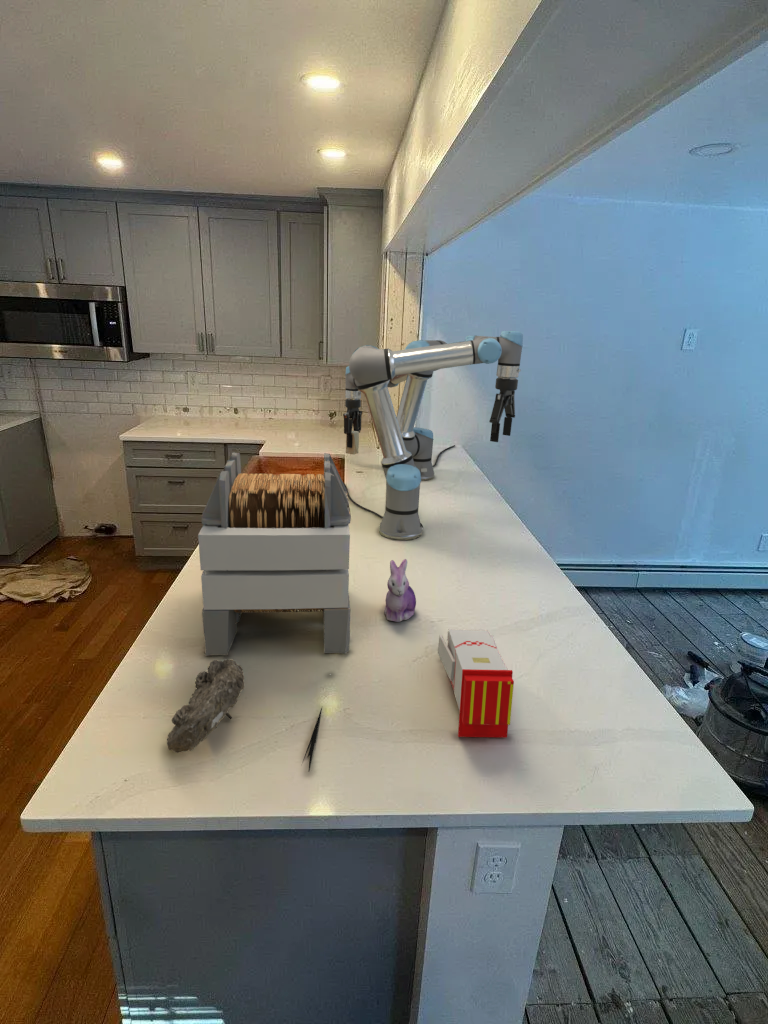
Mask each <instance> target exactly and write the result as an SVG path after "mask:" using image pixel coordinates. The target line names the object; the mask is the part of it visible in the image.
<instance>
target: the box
mask: <svg viewBox="0 0 768 1024" xmlns="http://www.w3.org/2000/svg"><path fill="white" fill-rule="evenodd" d="M351 434H352V448H349V447H347V434H345V435H346V437H345V454H348V455H357V454H359V448H360V447H359V445H360V433H359V432H358V431H354V430H352V433H351Z"/></svg>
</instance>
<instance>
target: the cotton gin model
mask: <svg viewBox="0 0 768 1024" xmlns="http://www.w3.org/2000/svg"><path fill="white" fill-rule="evenodd" d="M241 463H242V462H241V453H240V452H235V451H233V452H231V455H230V457H229V459H227V460H226V463H225V466H224V468H223V470H222V471H220V474H219V475H218V477H217V479H216V482H215V483H214V486H213V489H212V491H211V494H210V495H209V498H208V499H207V502H206V505H205V507H204V509H203V511H202V514H201V517H200V520H201V524H202V527H201V529H200V530H199V532H198V535H197V538H198V550H199V552H198V553H199V563H200V565H199V567H200V571H202V573H201V575H200V580H201V581H200V582H201V594H202V605H203V607H202V609H201V610H202V611H201V617H202V629H203V638H204V639H203V640H204V649H205V650H204V651H205V652H204V655H205V656H206V657H212V656H228V654H229V652H230V650H231V647H232V645H233V643H234V640H235V638H236V635H237V632H238V623H240V620H241V617H242V614H244V613H250V614H251V613H253V614H254V613H257V614H258V613H298V612H301V613H302V612H308V613H309V612H322V614H323V654H344V655H346V654H347V653H349V652H350V639H351V604H350V595H349V594H350V593H349V586H350V585H349V584H350V572H349V571H350V570H349V569H350V549H351V548H350V547H351V545H350V542H351V533H350V532H351V531H350V526H349V525H350V524H351V520H352V516H351V515H352V514H351V509H350V502H349V498H348V495H347V490H348V489H347V490H346V488H345V486H344V484H345V483H344V481H343V480H342V478H341V474H340V473H339V471H338V469H337V466H336V465H335V462H334V460H333V458H332V455H331V454H330V453H326V452H324V453H323V473H322V474H321V473H318V474H316V475H315V474H314V473H306V474H303V475H302V474H301V473H280V474H273V473H244V472H243V473H242V466H241ZM342 481H343V482H342ZM343 483H344V484H343Z"/></svg>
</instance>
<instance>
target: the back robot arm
mask: <svg viewBox="0 0 768 1024" xmlns="http://www.w3.org/2000/svg"><path fill="white" fill-rule="evenodd" d="M442 344H448V343H447V342H446V341H444V340H441V339H439V340H438V339H437V340H435V339H434V340H429V339H428V340H424V339H418V340H413V341H411V342H410V343H408V344H407V345H406V347H405V348H404V350H405V349H412V348H420V347H427V346H434V345H442ZM436 371H440V369H436V370H429V371H422V372H415V373H408V374H401V375H396V376H394V378H393V379H390V381H389V383H388V385H387V387H388V388H389V389H390V388H395V387H398V386H399V385H400V383H403V382H405V383H404V387H403V389H402V390H403V391H402V393H401V399H400V402H399V406H398V410H397V413H396V418H397V421H398V425H399V428H400V431H401V435H402V438H403V442H404V445H405V448H406V450H407V451H409V452H411V454H412V457H413V461H414V464H415V466H416V468H418V469H419V471H420V474H421V482H426V481H427V482H428V481H431V480H433V479H435V471H434V467H436V465H437V463H438V460H439V457H440V456H441V454H443V453H445V451H448V450H450V449H452V448H454V447H456V444H453V445H450V446H449V447H447V448H445V449H443V450H442V451H440V452H439V453H438V455H437V457H436V459H435V462H434V464H433V461H432V460H433V459H432V458H433V449H434V447H433V446H434V432H433V431H432V430H431V429H428V428H423V427H416V426H415V425H416V421H417V417H418V414H419V412H420V411H419V410H420V407H421V404H422V401H423V397H424V393H425V390H426V386H427V382H428V380H429V379H432V377H433V374H434V372H436ZM344 376H345V380H344V381H345V383H344V384H345V387H344V389H345V390H344V391H345V392H344V393H345V394H344V398H345V400H344V407H345V408H346V412H344V413H343V414H342V416H343V434H345V435H346V434H347V447H349V448H352V434H351V433H352V431H358V432H359V434H360V433H361V431H362V415H363V411H362V410H360V408H361V407H362V400H361V398H362V392H361V391H359V390H358V388H357V385H356V382H355V379H354V378H353V376H352V375H351V373H350V370H349V365H347V366H346V367H345V375H344Z"/></svg>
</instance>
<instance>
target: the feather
mask: <svg viewBox="0 0 768 1024" xmlns="http://www.w3.org/2000/svg"><path fill="white" fill-rule="evenodd" d="M329 675H330V676H331V675H332V674H331V673H330V674H329ZM322 710H323V707H321V708H320V710H319V713H318V716H317V719H316V723H315V725H314V728H313V731H312V733H311V737H310V739H309V742H308V745H307V748H306V751H305V754H304V757H303V760H302V763H301V767H302V765H303V763H304V761H305V758H308V759H309V760H308V762H307V763H308V764H307V766H308V771H310V770H311V766H312V765H311V764H312V760H313V757H315V756H314V755H315V751H316V749H315V746H317V739H318V733H319V729H320V722H321V717H322V712H323V711H322ZM313 754H314V755H313ZM306 755H307V757H306Z"/></svg>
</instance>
